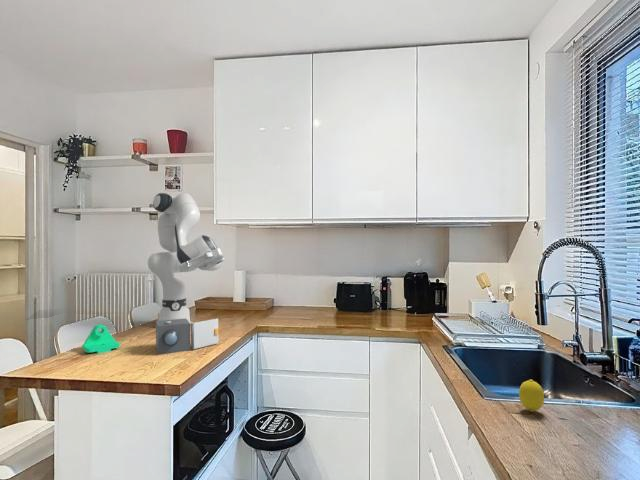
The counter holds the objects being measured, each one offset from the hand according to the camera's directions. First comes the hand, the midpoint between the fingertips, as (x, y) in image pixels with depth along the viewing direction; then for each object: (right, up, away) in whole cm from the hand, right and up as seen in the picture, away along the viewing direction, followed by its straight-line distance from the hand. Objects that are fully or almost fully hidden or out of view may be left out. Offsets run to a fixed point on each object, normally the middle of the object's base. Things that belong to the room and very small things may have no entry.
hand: (195, 259), depth 174 cm
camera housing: (-5, -36, -13) cm, 39 cm away
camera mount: (-35, -37, -12) cm, 52 cm away
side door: (+7, -36, -9) cm, 37 cm away
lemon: (+107, -34, -76) cm, 136 cm away
